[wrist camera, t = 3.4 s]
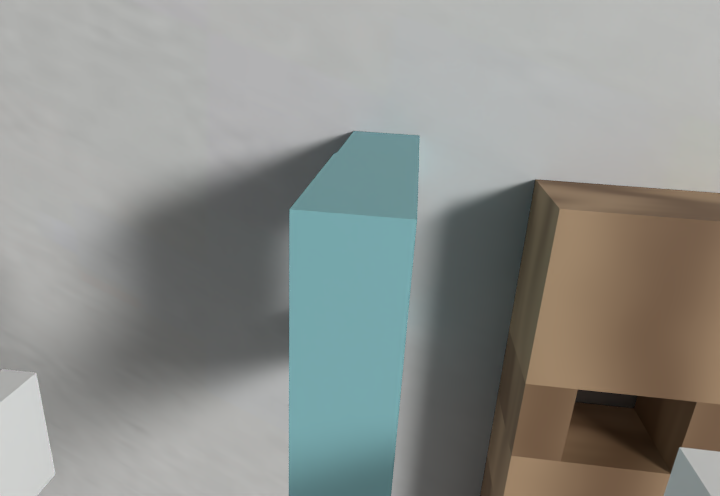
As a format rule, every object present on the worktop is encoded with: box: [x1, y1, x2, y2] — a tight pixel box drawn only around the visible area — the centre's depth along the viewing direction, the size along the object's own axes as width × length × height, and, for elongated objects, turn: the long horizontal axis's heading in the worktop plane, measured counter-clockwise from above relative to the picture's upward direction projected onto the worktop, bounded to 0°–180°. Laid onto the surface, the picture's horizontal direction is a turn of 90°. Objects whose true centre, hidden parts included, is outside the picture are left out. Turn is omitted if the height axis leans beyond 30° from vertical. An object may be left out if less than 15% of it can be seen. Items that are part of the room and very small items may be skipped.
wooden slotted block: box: [480, 180, 720, 496], centre depth 23 cm, size 8×24×4 cm, turn 177°
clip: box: [289, 131, 419, 496], centre depth 17 cm, size 3×9×11 cm, turn 177°
